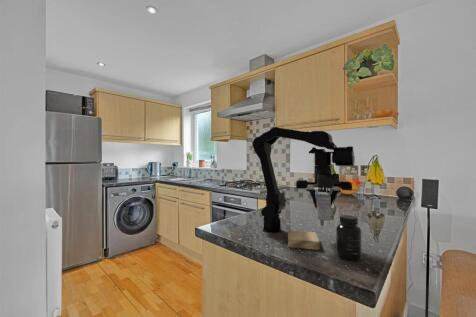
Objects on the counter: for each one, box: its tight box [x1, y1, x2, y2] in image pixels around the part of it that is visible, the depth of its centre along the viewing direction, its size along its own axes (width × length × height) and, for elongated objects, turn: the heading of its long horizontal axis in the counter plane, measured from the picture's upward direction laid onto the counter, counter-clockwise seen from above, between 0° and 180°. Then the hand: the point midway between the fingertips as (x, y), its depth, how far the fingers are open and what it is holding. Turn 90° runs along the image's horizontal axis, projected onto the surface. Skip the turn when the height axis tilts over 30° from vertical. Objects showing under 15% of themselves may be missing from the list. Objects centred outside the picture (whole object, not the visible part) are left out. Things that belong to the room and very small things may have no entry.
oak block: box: [287, 229, 321, 251], centre depth 78 cm, size 10×10×3 cm
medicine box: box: [314, 191, 332, 222], centre depth 81 cm, size 8×4×9 cm, turn 166°
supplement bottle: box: [335, 214, 362, 262], centre depth 67 cm, size 7×7×12 cm
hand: (322, 208), depth 81 cm, fingers closed on medicine box, 4 cm apart
